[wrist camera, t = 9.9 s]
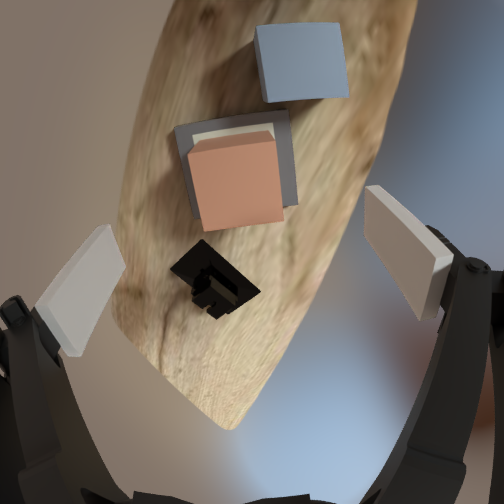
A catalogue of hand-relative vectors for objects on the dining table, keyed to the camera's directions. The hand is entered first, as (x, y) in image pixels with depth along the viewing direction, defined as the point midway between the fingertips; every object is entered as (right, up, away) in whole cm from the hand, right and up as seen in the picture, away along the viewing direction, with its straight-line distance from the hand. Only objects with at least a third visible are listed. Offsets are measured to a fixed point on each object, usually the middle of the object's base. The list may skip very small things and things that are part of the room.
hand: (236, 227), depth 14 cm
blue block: (+4, +15, +8) cm, 18 cm away
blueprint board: (-1, +7, +12) cm, 14 cm away
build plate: (-3, -4, +20) cm, 21 cm away
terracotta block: (0, +6, +11) cm, 13 cm away
